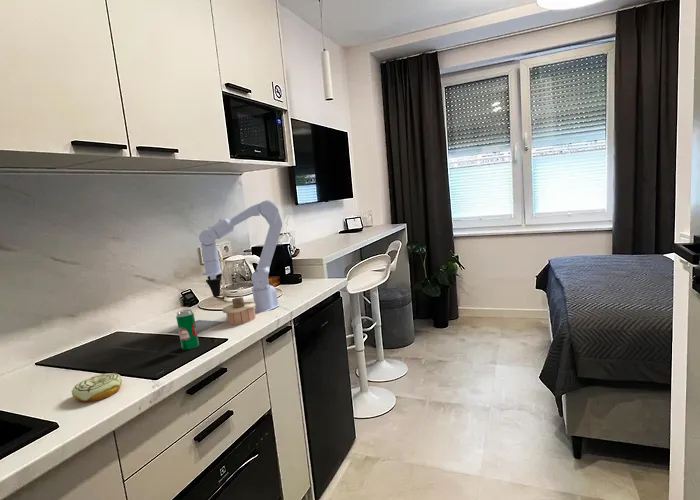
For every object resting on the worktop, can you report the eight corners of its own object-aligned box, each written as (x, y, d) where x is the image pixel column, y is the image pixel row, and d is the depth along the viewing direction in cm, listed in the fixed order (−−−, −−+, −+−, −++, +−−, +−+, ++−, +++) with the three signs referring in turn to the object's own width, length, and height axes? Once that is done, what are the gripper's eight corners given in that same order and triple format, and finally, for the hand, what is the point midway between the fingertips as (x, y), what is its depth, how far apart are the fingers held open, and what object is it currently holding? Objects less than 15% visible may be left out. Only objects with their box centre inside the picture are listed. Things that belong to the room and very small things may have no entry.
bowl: (241, 316, 156) (239, 303, 156) (261, 317, 152) (259, 304, 151) (222, 324, 148) (220, 311, 147) (242, 326, 143) (240, 312, 142)
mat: (198, 321, 157) (198, 319, 157) (224, 322, 150) (224, 321, 150) (167, 333, 145) (167, 332, 144) (194, 336, 138) (194, 334, 138)
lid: (239, 303, 157) (237, 294, 157) (262, 303, 151) (260, 294, 151) (215, 312, 147) (213, 302, 146) (239, 313, 141) (237, 303, 140)
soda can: (178, 350, 125) (171, 313, 123) (191, 344, 129) (185, 308, 127) (189, 352, 122) (183, 314, 121) (202, 345, 127) (196, 309, 125)
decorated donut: (83, 409, 93) (79, 394, 92) (68, 399, 100) (65, 384, 99) (130, 389, 101) (127, 375, 100) (113, 380, 107) (110, 367, 107)
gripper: (201, 260, 160) (207, 292, 162) (199, 264, 147) (205, 300, 148) (220, 257, 162) (225, 289, 164) (219, 261, 148) (225, 297, 150)
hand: (217, 294), depth 156 cm, fingers open, 7 cm apart
